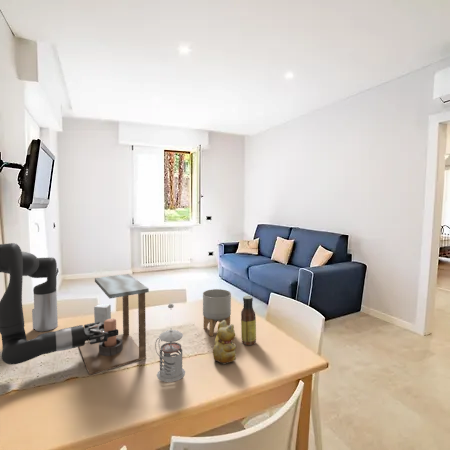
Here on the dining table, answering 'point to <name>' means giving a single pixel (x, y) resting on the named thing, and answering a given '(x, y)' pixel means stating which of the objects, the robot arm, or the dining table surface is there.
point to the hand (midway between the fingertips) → (115, 327)
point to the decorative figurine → (224, 343)
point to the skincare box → (102, 313)
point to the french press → (170, 356)
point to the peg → (108, 326)
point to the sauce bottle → (248, 322)
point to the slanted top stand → (126, 347)
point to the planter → (216, 308)
